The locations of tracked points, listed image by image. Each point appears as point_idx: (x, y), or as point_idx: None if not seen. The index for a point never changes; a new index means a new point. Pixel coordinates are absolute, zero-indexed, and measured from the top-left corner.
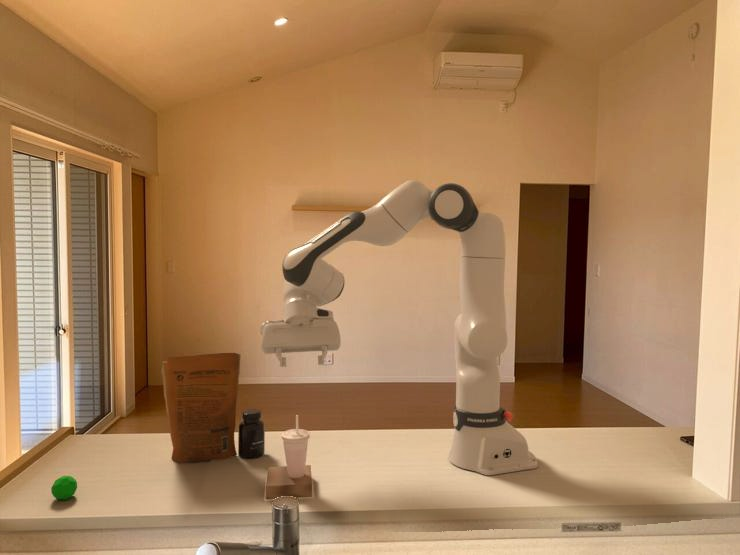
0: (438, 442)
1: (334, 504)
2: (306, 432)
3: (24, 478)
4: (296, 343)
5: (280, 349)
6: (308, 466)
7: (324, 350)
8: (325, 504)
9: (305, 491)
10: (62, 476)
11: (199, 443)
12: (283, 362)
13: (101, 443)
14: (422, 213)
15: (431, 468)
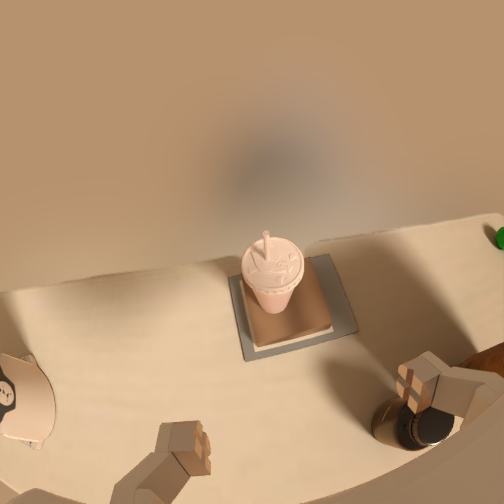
0: (65, 476)
1: (210, 274)
2: (248, 269)
3: None
4: (409, 477)
5: (486, 398)
6: (258, 335)
7: (138, 480)
8: (222, 272)
9: None
10: None
11: (473, 356)
12: (415, 359)
13: None
14: None
15: (77, 387)
